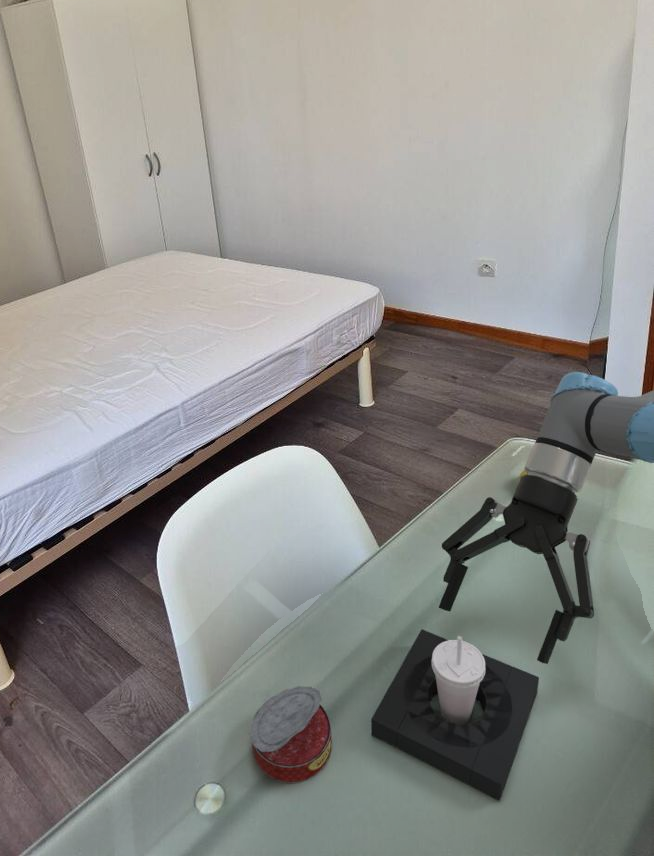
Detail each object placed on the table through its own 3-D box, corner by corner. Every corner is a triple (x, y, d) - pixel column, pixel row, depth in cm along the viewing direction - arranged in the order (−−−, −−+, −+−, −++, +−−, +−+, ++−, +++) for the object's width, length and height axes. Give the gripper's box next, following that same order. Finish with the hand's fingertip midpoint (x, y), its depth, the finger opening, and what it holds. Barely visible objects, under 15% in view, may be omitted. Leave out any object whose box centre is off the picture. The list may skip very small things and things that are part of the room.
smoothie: (428, 732, 86) (431, 652, 79) (430, 688, 91) (433, 610, 85) (482, 741, 84) (489, 660, 78) (480, 695, 90) (487, 617, 83)
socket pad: (537, 693, 89) (539, 677, 88) (499, 801, 78) (501, 784, 76) (421, 644, 98) (421, 628, 96) (371, 735, 86) (371, 719, 84)
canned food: (283, 808, 83) (240, 781, 77) (262, 729, 91) (222, 700, 86) (361, 759, 82) (324, 729, 77) (333, 684, 91) (297, 652, 85)
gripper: (654, 526, 87) (594, 687, 84) (474, 459, 103) (418, 593, 100) (647, 514, 81) (583, 687, 78) (457, 445, 97) (398, 587, 94)
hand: (490, 634), depth 89 cm, fingers open, 13 cm apart
